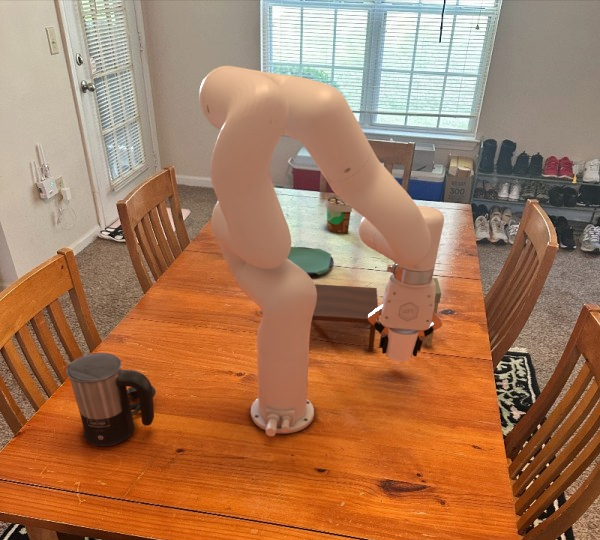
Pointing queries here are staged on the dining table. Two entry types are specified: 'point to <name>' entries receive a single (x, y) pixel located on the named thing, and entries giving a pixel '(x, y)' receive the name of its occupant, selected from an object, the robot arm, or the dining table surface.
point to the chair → (435, 306)
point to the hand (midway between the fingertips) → (399, 351)
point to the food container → (337, 215)
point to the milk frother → (109, 397)
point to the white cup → (401, 344)
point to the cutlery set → (311, 259)
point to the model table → (346, 305)
